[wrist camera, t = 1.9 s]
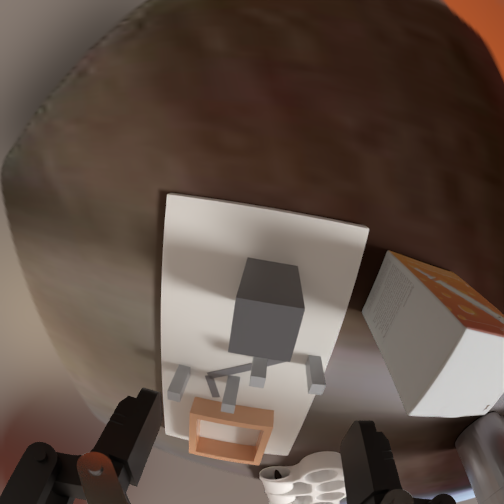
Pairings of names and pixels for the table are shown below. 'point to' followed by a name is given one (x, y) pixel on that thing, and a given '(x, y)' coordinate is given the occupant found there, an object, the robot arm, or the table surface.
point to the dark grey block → (267, 311)
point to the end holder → (240, 418)
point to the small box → (436, 339)
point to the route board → (223, 302)
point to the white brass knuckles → (306, 481)
